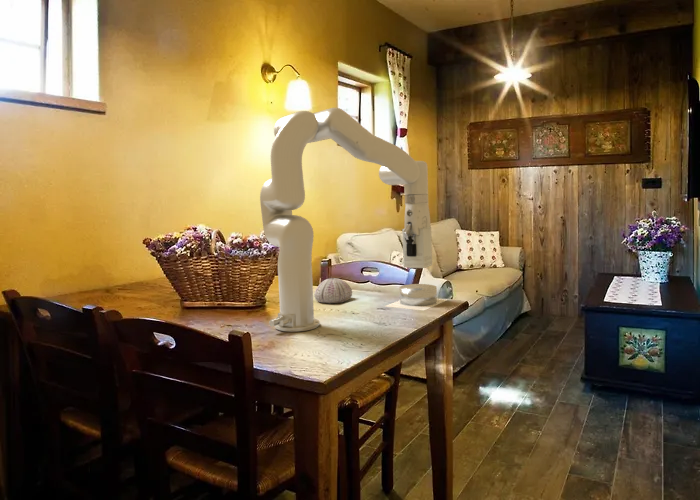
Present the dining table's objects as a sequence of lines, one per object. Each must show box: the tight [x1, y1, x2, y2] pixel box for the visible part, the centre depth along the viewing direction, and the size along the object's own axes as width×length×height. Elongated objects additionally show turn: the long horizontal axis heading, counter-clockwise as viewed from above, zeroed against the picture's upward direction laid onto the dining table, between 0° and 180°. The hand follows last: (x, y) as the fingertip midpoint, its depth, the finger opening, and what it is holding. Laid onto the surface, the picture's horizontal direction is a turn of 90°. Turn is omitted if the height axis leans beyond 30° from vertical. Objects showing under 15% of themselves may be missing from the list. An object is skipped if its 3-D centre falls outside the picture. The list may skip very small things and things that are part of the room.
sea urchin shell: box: [313, 277, 353, 304], centre depth 186 cm, size 13×14×8 cm
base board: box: [384, 298, 448, 311], centre depth 174 cm, size 18×14×1 cm
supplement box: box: [402, 227, 433, 269], centre depth 173 cm, size 7×7×13 cm
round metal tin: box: [399, 283, 438, 306], centre depth 175 cm, size 12×12×5 cm
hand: (417, 254), depth 173 cm, fingers closed on supplement box, 7 cm apart
